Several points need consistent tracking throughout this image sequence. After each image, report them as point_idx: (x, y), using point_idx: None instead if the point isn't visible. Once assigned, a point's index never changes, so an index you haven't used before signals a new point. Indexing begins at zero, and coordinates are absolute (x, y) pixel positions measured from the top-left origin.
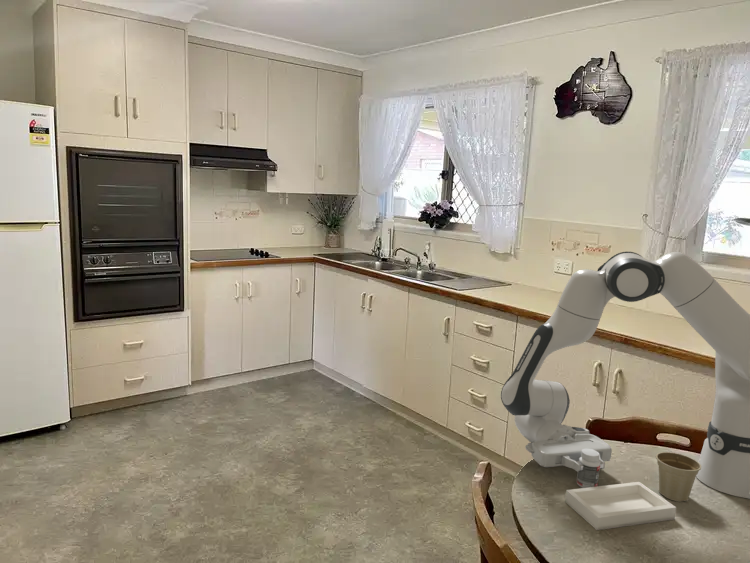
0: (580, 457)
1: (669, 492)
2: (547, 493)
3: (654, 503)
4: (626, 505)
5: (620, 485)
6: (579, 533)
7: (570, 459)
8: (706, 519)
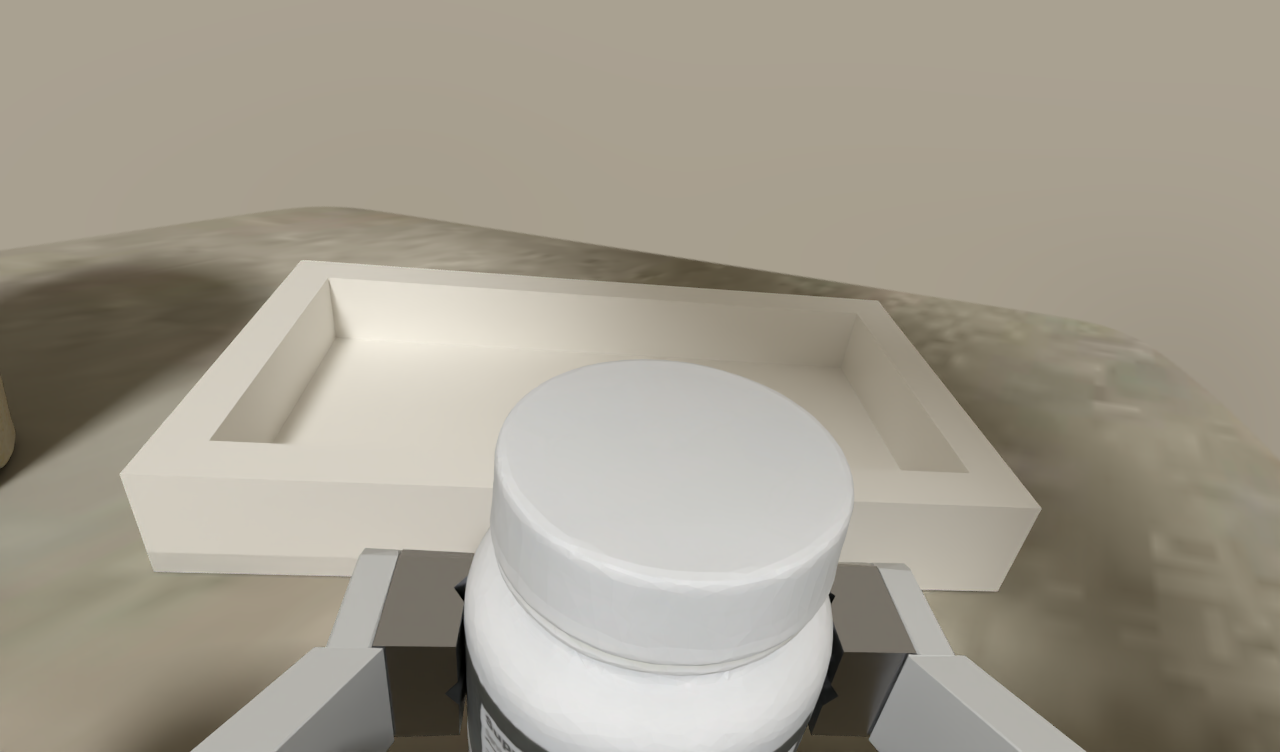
0: (799, 669)
1: (2, 390)
2: (1172, 742)
3: (298, 380)
4: None
5: (421, 467)
6: (962, 371)
7: (1013, 717)
8: (115, 302)
